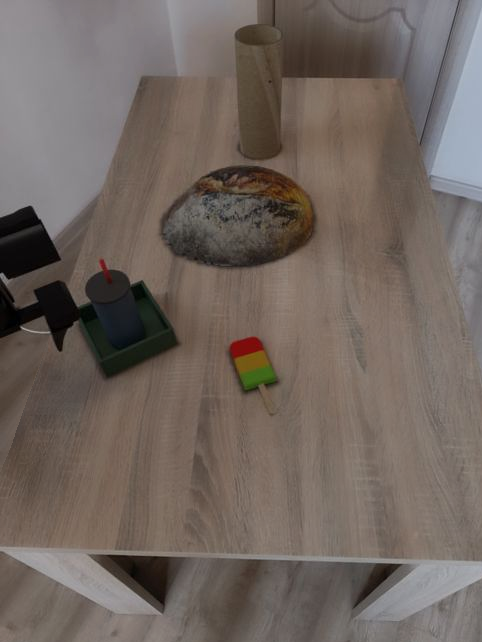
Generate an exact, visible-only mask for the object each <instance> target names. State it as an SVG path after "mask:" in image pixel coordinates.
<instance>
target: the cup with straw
mask: <svg viewBox="0 0 482 642" xmlns="http://www.w3.org/2000/svg"><path fill="white" fill-rule="evenodd" d="M98 261H99V265H100V268H101V271H98V272H96V273H94V274H93V275H92V276H90V278H89V279H87V282H86V283H85V286H84V292H85V295H86V297H87V299H88V300H89V301H90V302H92V305H93V307H94V309H95V311H96V313H97V315H98V317H99V320H100V322H101V324H102V326H103V328H104V330H105V332H106V335H107V337H108V339H109V341H110V343H111V345H112V346H113V347H114V348H115V349H117V350H122V349H124V348H127V347H129V346H131V345H133V344H135V343H138V342H140V341H142V340H144V339H145V337H146V331H145V328H144V325H143V322H142V319H141V316H140V314H139V311H138V308H137V305H136V302H135V299H134V296H133V293H132V291H131V288H130V285H131V281H130V278H129V277H128V275H127V274H126V273H124V272H123V271H121V270H118V269H108V267H107V265H106V262H105V259H104V258H99V259H98Z"/></svg>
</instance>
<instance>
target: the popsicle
mask: <svg viewBox="0 0 482 642" xmlns="http://www.w3.org/2000/svg"><path fill="white" fill-rule="evenodd" d="M263 346H264V345H263V344H262V341H261V340H260V338H259V337H257V336H249V337H246V338H241V339H239V340H236V341H233V342H232V343H231V344H230V346H229V352H230V355H231V358H232V360H233V363H234V366H235V368H236V371H237V373H238V376H239V379H240V381H241V384H242V386H243V389H244V390H245V391H249V390H252V389H255V388H258V389H259V391H260V394H261V396H262V399H263V401H264V404H265V406H266V408H267V411H268V414H269V415H274V414H276V409H275V407H274V404H273V402H272V400H271V398H270V395H269V392H268V390H267V388H266V385H268V384H272V383H275V382H277V375H276V373H275V371H274V369H273V367H272V364H271V362H270V360H269V357H268V355H267V353H266V351H265V348H264V347H263Z"/></svg>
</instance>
